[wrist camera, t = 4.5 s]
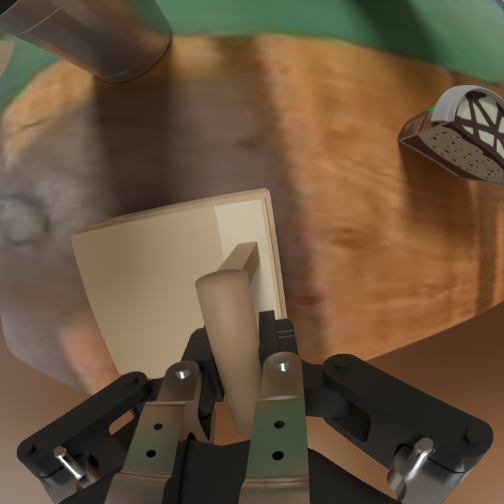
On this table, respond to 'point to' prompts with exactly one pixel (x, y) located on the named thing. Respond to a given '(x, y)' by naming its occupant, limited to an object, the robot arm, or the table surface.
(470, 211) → the table surface
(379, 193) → the table surface
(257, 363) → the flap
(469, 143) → the food container
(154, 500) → the robot arm
